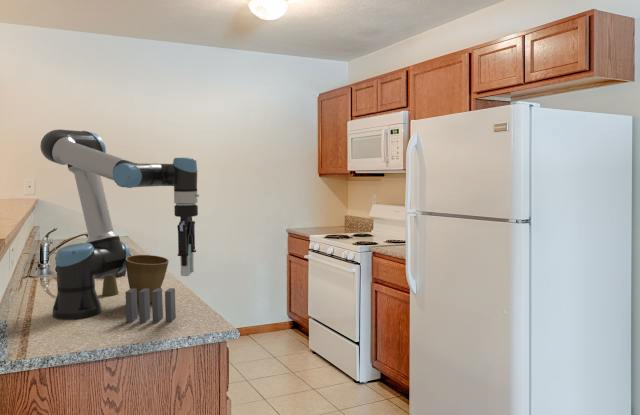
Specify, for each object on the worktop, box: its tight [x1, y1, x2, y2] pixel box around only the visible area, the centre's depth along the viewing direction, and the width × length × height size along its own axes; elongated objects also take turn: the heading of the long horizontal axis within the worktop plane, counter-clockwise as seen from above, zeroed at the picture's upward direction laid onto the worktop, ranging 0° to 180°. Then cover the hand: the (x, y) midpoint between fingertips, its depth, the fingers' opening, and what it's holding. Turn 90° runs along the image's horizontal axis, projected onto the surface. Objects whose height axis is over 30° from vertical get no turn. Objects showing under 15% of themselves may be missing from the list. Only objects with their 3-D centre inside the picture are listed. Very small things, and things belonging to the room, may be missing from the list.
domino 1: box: [124, 288, 138, 324], centre depth 171 cm, size 2×5×10 cm, turn 0°
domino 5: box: [188, 244, 193, 275], centre depth 176 cm, size 2×5×10 cm, turn 0°
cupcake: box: [115, 268, 127, 278], centre depth 244 cm, size 10×10×10 cm
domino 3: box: [151, 287, 164, 324], centre depth 170 cm, size 2×5×10 cm, turn 0°
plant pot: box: [126, 254, 170, 305], centre depth 193 cm, size 15×15×16 cm
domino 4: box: [164, 287, 177, 323], centre depth 170 cm, size 2×5×10 cm, turn 0°
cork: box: [101, 275, 119, 297], centre depth 207 cm, size 6×6×11 cm
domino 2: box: [138, 288, 151, 324], centre depth 171 cm, size 2×5×10 cm, turn 0°
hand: (187, 273), depth 176 cm, fingers closed on domino 5, 5 cm apart
